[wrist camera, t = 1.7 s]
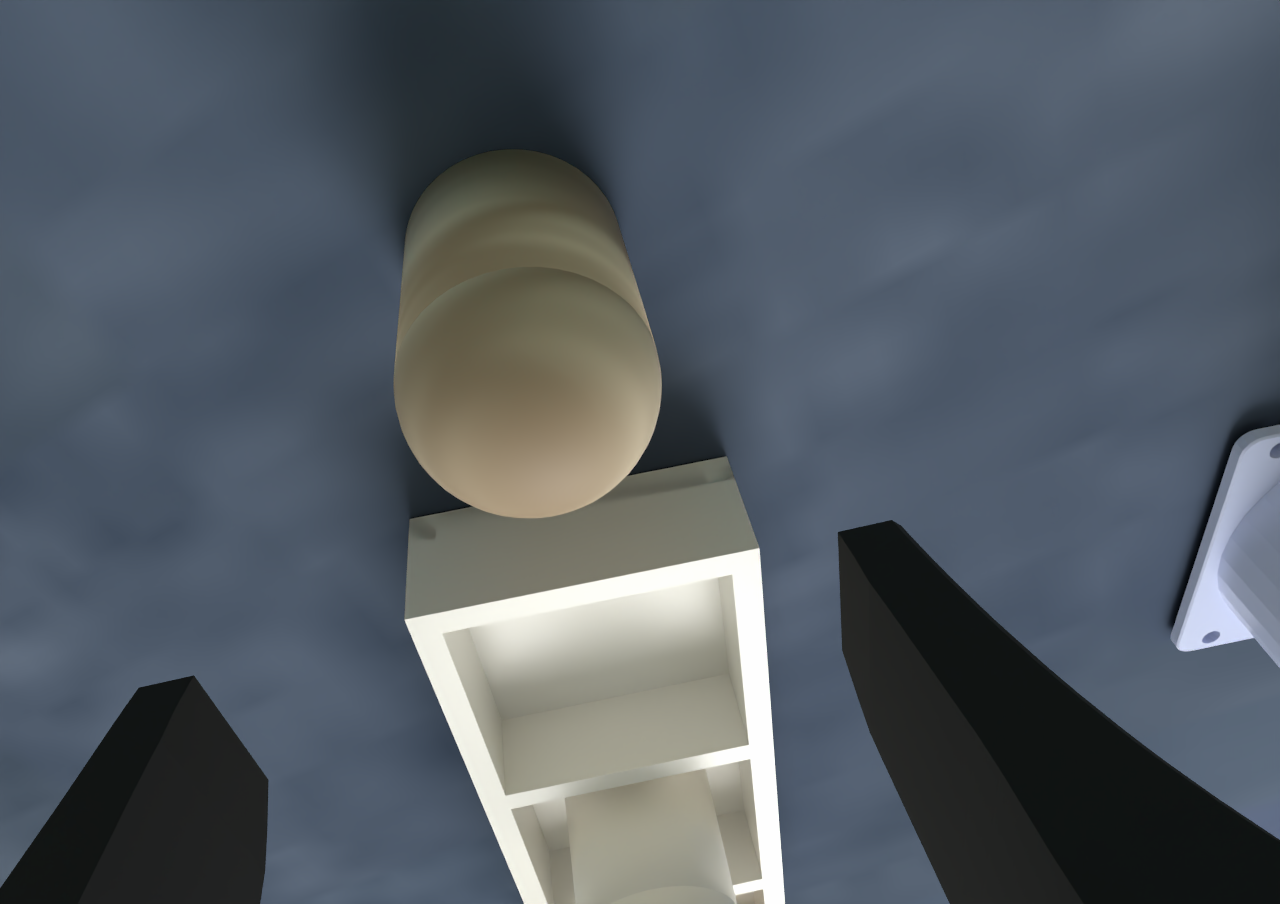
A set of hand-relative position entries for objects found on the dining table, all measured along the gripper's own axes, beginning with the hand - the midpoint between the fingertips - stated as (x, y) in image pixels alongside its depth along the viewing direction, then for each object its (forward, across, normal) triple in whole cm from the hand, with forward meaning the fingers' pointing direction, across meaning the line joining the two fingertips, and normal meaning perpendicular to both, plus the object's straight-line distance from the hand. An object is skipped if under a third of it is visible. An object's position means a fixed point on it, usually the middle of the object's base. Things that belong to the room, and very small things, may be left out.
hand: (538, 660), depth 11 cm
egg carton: (+9, 0, +16) cm, 18 cm away
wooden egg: (+9, 0, 0) cm, 9 cm away
